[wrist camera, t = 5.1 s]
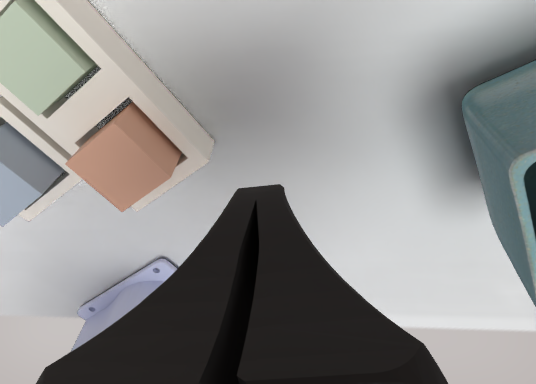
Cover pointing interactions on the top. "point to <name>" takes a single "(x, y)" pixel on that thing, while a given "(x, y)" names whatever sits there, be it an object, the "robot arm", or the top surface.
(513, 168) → the flower pot
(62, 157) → the side socket
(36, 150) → the blue-grey cube
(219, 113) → the top surface
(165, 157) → the orange-brown cube
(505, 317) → the top surface
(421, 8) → the top surface
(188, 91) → the top surface
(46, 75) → the sage button
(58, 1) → the button strip
